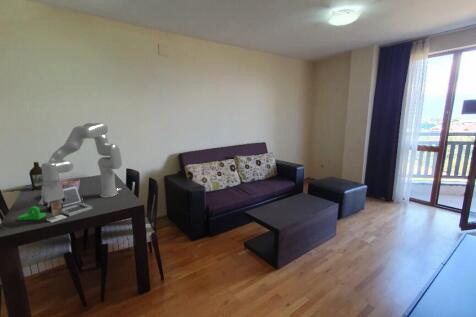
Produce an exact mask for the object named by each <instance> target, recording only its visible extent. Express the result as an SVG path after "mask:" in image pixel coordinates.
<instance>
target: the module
mask: <svg viewBox="0 0 476 317" xmlns="http://www.w3.org/2000/svg"><path fill="white" fill-rule="evenodd" d="M50 207H51V212H52V213H49V212H48V215H50V216H53V217H55V216H58V215H61V214H63V213H62V206H61V201H60V200H56V201H52V202H51V203H50Z"/></svg>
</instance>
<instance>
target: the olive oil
mask: <svg viewBox="0 0 476 317" xmlns="http://www.w3.org/2000/svg"><path fill="white" fill-rule="evenodd" d="M29 178H30V183H31V187H32V191H34V190H37V191H42V186H44V182H43V175H42V168H41V166H40V164H39V161H34V162H33V167H32V168H31V169H30V170H29Z"/></svg>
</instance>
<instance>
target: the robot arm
mask: <svg viewBox="0 0 476 317" xmlns="http://www.w3.org/2000/svg"><path fill="white" fill-rule="evenodd" d="M108 131H109V127H108V126H107V124H106V123H103V122H87V123H84V124H83V125H77V126H75V127H73V128H72V130H71V132H70V133H69V136H68V137H67V140H66V141H65V143H64V144H63V145H61V146H59V148H58V149H57V150H55V151H54V152H53V153H52V154H51V156H50V157H49V160H48V162H44V163H41V166H40V167H41V168H42V175H43V182H44V186H42V190H41V199H40V200H39V202H38V204H39V205H42V206H45V207H46V212H47V213H48V214H49V213H52V212H51V207H50V203H51V202H52V201H56V200H60V201H61V206H62V208H64V207H63V204H62V203H63V202H64V201H65V199H66V198H67V197H68V196H67V195H66V194H64V191H63V188H62V185H61V183H60V182H61V181H62V180H63V179H62V178H60V174H61V173H68V172H70V171H72V170H73V169H74V164H73V162H71V161H70V160H64V159H65V158H66V157H67V156H69V155H70V154H73V153H75V152H78V151H80V149H81V147H82V145H83V143H84V141H85V139H93V140H94V142H95V147H96V150H97V151H96V152H97V154H98V155H99V156H102V157H100V158H99V159H98V161H97V165H98V168H99V173H100V181H101V182H100V183H101V190H102V193H101V194H100V197H101V198H111V197H116V196H118V195H119V192H120V191H122V188H121V187H119V188H117V187H116V179H115V176H116V174H115V172H114V170H119V169H121V167H122V165H123V160H122V155H121V151H120V148H119V146H118V145H117V144H116V143H109V140H108V137H107V134H108ZM117 194H118V195H117ZM115 195H116V196H115Z"/></svg>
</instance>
